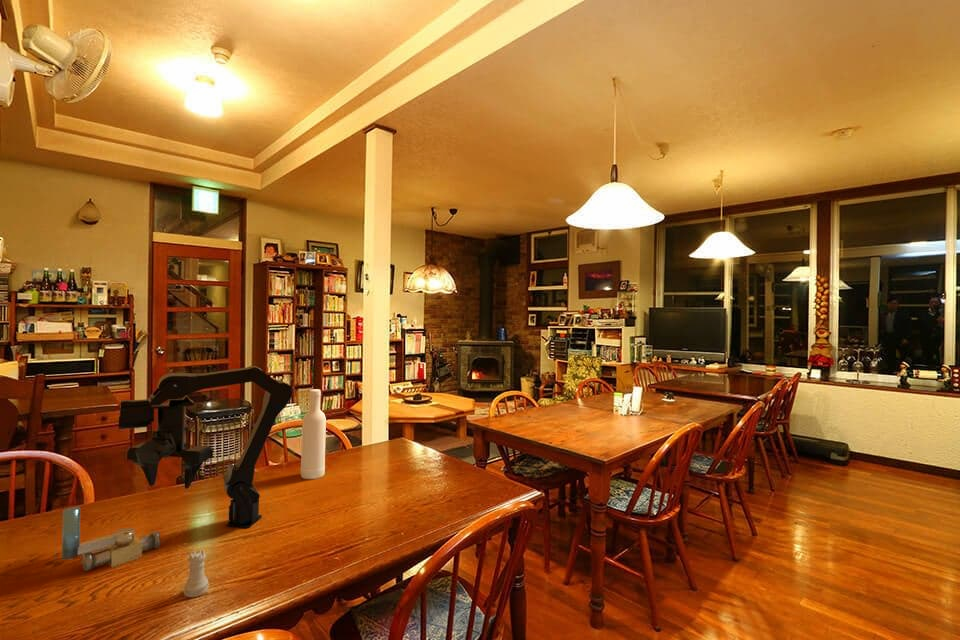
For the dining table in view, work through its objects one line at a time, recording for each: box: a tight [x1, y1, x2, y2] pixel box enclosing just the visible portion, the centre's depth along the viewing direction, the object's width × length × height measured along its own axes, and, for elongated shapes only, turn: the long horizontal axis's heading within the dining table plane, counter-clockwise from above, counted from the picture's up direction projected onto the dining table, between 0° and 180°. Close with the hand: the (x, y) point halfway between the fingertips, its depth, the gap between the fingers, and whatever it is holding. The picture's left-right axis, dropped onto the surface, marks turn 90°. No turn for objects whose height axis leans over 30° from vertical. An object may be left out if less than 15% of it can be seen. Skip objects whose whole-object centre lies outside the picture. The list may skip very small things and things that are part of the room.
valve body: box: [81, 530, 162, 572], centre depth 104 cm, size 14×6×4 cm, turn 143°
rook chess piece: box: [183, 549, 210, 599], centre depth 93 cm, size 4×4×8 cm
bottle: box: [300, 388, 327, 480], centre depth 159 cm, size 8×8×30 cm
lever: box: [61, 506, 135, 560], centre depth 101 cm, size 12×4×10 cm, turn 139°
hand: (169, 487), depth 113 cm, fingers open, 9 cm apart
